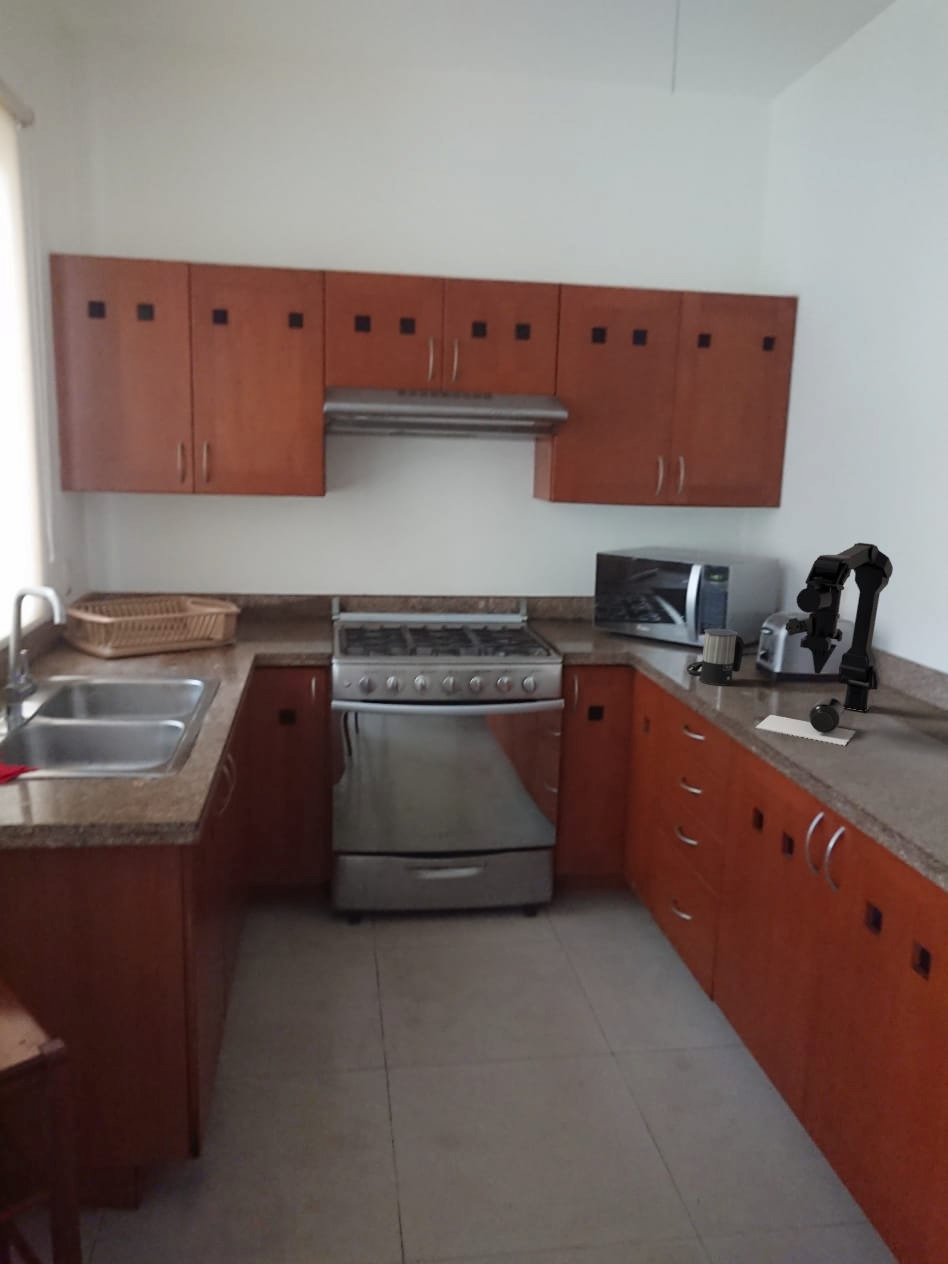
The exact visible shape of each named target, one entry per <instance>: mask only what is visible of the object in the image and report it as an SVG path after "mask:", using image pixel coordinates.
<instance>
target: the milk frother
mask: <svg viewBox="0 0 948 1264" xmlns="http://www.w3.org/2000/svg"><path fill="white" fill-rule="evenodd" d="M703 631H704V639H703V649H702V650H703V653H702V659H701V661H696V662H692V663H690V664H689V665H688V666H686V671H687V672H688V673H689V674H691V675H694V676H700V677H699V682H701V683H703V684H707V685H712V686H724V687H725V686H730V685H732V684H733V672H735V673H738V672H740V669H741V666H742V665H741V664H742V658H743V655H744V654H743V652H744V647H745V643H744V639H743V638H742V637H741V636H740V635H738V632H737V631H735V630H731V629H725V628H705V629H704V630H703ZM700 669H701V670H700Z"/></svg>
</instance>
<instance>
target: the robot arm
mask: <svg viewBox="0 0 948 1264" xmlns="http://www.w3.org/2000/svg"><path fill="white" fill-rule="evenodd" d="M852 570H853V571H854V582H855V585H856V586H857V589H858V590H859V592H858V593H859V594H858V600H857V608H856V614H855V620H854V626H853V632H852V633H853V634H852V639H851V646H850V647H849V649H848V650H846V652H844V653H843V654H842V656H841V662H840V663H839V666H838V682H839V684H845V685H846V687H845V694H844V700H843V703H841V704H842V706H843V707H845V708H851V709H856V710H862V711H865V710H866V711H867V710H868V709H869V710H870V708H871V705H868V704H869V697H870V691H871V690H878V688H879V685H880V682H881V681H880V676H879V672H878V671H877V667H876V664H877V659H876V657H875V654H874V652H873V650H872V644H873V638H874V632H875V625H876V617H877V613H878V606H879V601H880V595H881V593H882V591H883V590H884V589H885V588H886V587H887V586H888V585H889V582H890V578H891V577H892V575H893V570H894V569H893V564H892V562H891V560H890V558H889V556H887V555H886V554H885V553H884V552H882V551H881V550H879V548H878V546H877V545H875V544H874V543H866V542H865V543H864V542H858V543H854V544H853V546H851V547H848V548H847V549H846V550H843V551H842V552H839V553H838V554H822V555H819V556H818V557H817V558H816V559H815V560H814V562H813V564H812V566H811V569H810V570H809V573H808V575H807V577H806V579H805V583H804V584H806V588H803V589H801V590H800V591H799V592H798V594H797V596H796V605H797V607H798V609H800V611H802V612H804V613H807V614H808V613H809V614H808V617H804V618H800V619H799V618H798V617H794V618H789V619H788V621H786V622H785V627H784V629H785V631H787V635H788V636H789V637H790V636H794V635H797V634H801V633H806V635H804V636H803V637H801V639H800V645H799V647H800V648H803V649H808V650H809V651H810V652H811V654H812V661H813V670H814V673H815V674H817V675H818V674H819V675H820V674H821V672H822V670H823V669H824V667H825V665H826V664H827V663H828V661H829V659H830V657H831V655H832V654H833V652H834V651H835V649H836V647H837V644H833V643H832V642H833V641H832V640H836V642H837V643H839V642H841V641H842V639H843V631H842V630H841V629H840V628H837V626H838V620H839V619H840V618H841V617H840V616H841V614H840V613H839V612H840V605H841V598H842V597H841V596H842V591H844V590H845V587H844V585H845V583H846V582H847V580H848V579H849V578H850V576H851V572H852ZM867 705H868V706H867ZM869 707H870V708H869ZM869 710H868V711H869ZM868 711H867V712H868Z"/></svg>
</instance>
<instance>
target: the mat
mask: <svg viewBox="0 0 948 1264" xmlns="http://www.w3.org/2000/svg"><path fill="white" fill-rule="evenodd" d="M755 729H758V730H762V731H768V732H772V733H776V734H782V733H783V735H787V734H788V735H787V736H792V735H793V736H792V737H797V736H798V737H797V738H801V737H804V738H803V739H806V738H808V740H811V739H813V740H812V741H816V740H818V741H817V742H821V741H823V742H822V743H826V742H828V744H831V743H833V745H836V744H838V746H841V745H843V746H842V747H846V745H847V744H848V743H849V741H850V740H851V739H852V738H853V736H854V735H855V733H856V730H851V729H846V728H841V727H838V726H837V727H836V728H835V729H834V730H833V731H830V732H820V731H817V730H816V729H814V728H813V726H812V725H811V723H810V721H805V720H799V719H795V718H790V717H784V716H779V715H774V714H770V715H768V716H767V717H766V718H765V719H763V720H762V721H761V722H760V723H758V725H756V726H755ZM853 734H854V735H853ZM850 738H851V739H850ZM847 742H848V743H847Z"/></svg>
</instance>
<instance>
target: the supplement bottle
mask: <svg viewBox="0 0 948 1264" xmlns="http://www.w3.org/2000/svg"><path fill="white" fill-rule="evenodd" d="M842 704H843V703H842V702H840V701H839V700H838V699H837V698H835V697H828V696H826V697H822V698H821V699H819V700H818V701H817V702H816V703H815V704H814V705H813V707H812V708H811V710H810V712H809V714H808V722H810V723H811V725H812V726H813V728H814V729H816V730H817V731H820V732H830V731H833V730H834V729H835V728H836V727H837V728H838V726H839V724H840V723H841V721H842V720H843V717H844V715H845V709H844V708H843V706H842Z"/></svg>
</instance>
